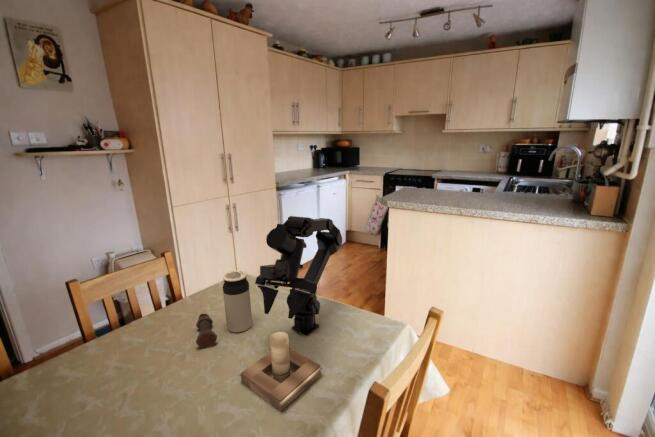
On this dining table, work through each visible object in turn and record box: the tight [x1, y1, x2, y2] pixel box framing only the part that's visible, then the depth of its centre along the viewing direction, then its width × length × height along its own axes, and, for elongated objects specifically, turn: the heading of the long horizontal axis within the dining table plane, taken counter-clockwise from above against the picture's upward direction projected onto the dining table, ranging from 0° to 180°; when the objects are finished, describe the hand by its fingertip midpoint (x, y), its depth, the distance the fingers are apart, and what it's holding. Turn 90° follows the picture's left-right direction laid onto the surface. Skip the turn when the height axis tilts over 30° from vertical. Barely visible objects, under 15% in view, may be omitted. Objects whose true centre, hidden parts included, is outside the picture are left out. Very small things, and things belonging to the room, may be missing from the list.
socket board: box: [238, 347, 323, 412], centre depth 78 cm, size 14×15×3 cm
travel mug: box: [222, 269, 253, 333], centre depth 99 cm, size 8×8×18 cm
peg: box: [269, 331, 291, 384], centre depth 77 cm, size 4×4×12 cm
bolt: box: [195, 313, 218, 350], centre depth 97 cm, size 6×5×15 cm
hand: (277, 316), depth 82 cm, fingers open, 9 cm apart
